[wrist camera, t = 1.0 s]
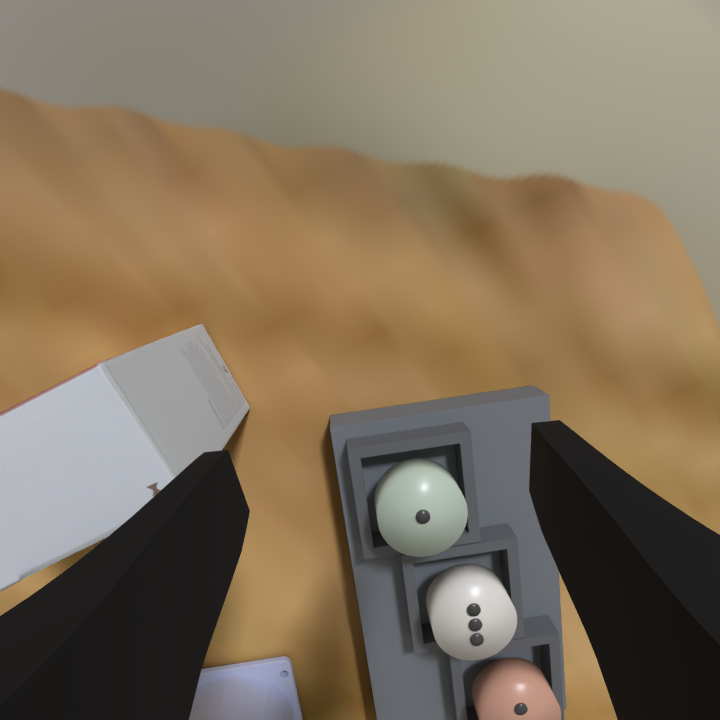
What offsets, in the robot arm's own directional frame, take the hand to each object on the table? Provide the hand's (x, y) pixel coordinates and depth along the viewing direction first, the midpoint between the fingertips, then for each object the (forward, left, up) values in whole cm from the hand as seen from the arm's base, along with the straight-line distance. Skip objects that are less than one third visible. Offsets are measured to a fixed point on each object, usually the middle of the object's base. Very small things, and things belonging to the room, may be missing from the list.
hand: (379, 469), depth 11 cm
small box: (-1, +11, -15) cm, 19 cm away
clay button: (-20, -6, -11) cm, 24 cm away
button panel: (-14, -4, -15) cm, 21 cm away
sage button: (-7, -2, -11) cm, 14 cm away
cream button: (-14, -4, -11) cm, 18 cm away
